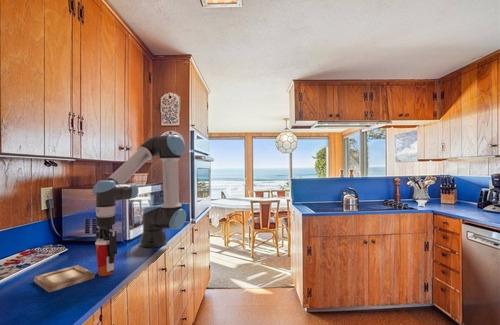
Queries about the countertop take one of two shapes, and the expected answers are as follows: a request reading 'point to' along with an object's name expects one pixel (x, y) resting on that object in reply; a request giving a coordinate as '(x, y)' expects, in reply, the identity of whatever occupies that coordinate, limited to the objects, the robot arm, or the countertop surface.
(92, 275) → the square tray
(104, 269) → the coffee cup
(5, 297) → the countertop surface
